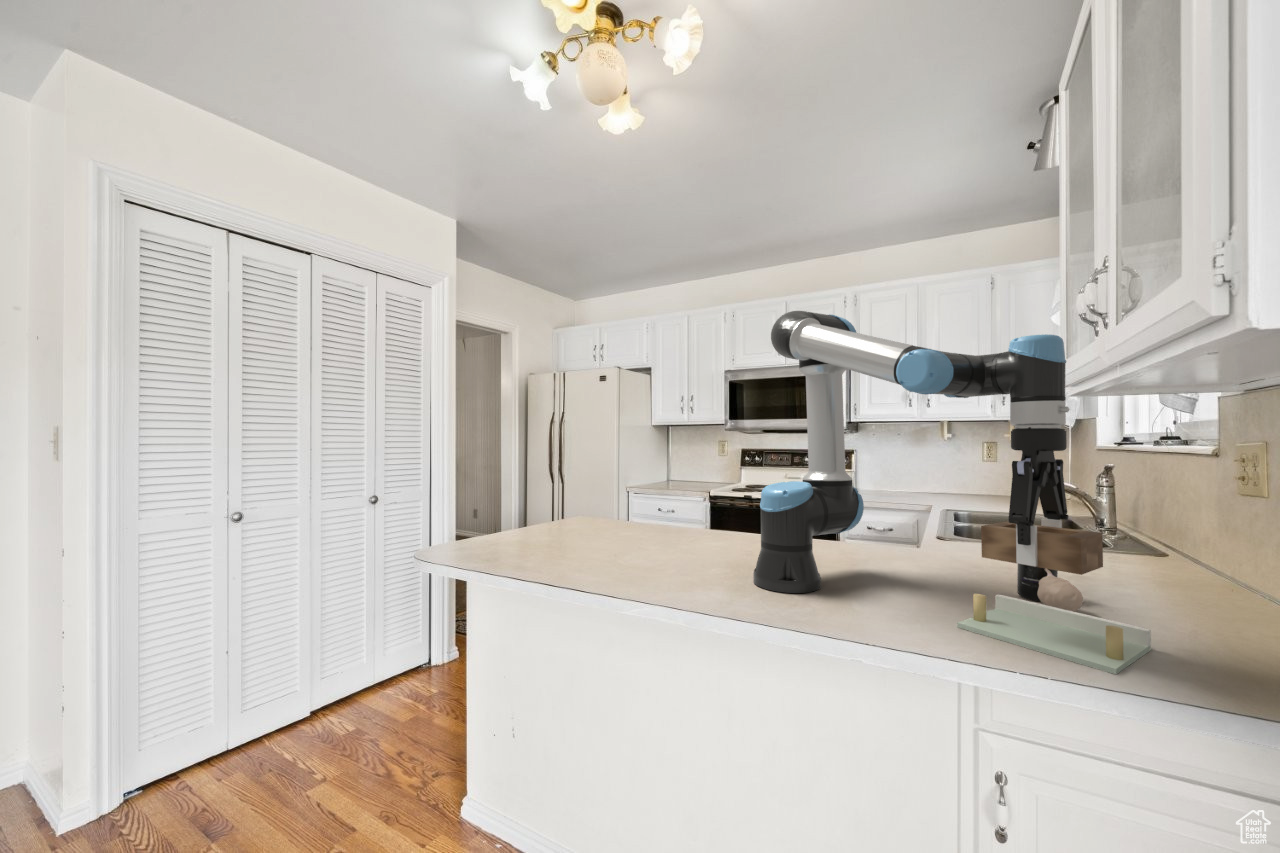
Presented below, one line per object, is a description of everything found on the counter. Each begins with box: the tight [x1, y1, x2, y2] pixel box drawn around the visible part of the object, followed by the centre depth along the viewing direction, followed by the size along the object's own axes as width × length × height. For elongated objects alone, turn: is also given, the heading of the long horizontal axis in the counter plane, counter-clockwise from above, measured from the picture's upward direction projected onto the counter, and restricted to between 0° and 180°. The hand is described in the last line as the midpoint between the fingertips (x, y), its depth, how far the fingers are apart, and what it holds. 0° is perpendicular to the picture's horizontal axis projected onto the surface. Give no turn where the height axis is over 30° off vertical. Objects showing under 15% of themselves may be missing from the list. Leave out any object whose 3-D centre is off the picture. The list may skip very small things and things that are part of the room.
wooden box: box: [980, 521, 1104, 576], centre depth 88 cm, size 14×9×6 cm, turn 33°
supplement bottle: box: [1016, 564, 1059, 603], centre depth 111 cm, size 7×7×12 cm
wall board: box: [956, 593, 1152, 675], centre depth 90 cm, size 22×16×5 cm
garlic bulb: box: [1037, 568, 1084, 612], centre depth 103 cm, size 7×6×8 cm
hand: (1039, 560), depth 88 cm, fingers closed on wooden box, 9 cm apart
